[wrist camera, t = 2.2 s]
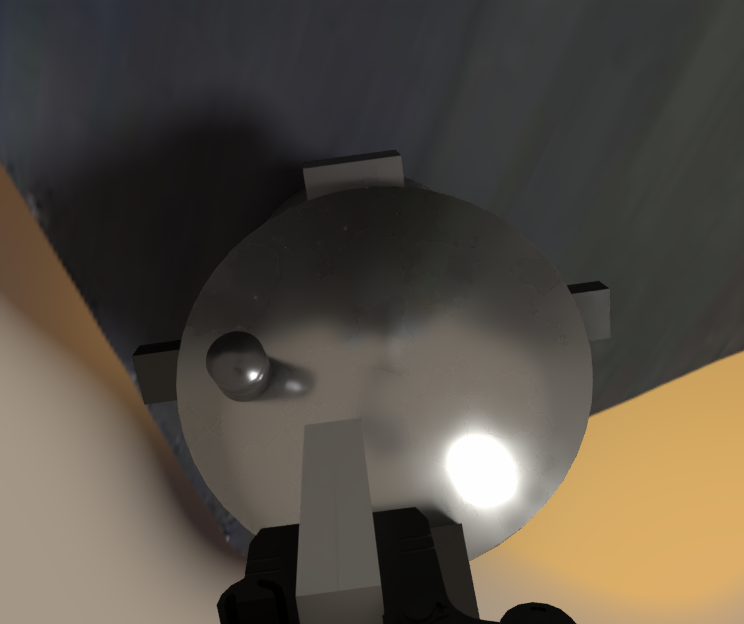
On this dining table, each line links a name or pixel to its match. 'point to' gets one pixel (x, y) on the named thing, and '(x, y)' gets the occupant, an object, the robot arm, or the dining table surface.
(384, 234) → the pot lid
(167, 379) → the steel pot
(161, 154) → the dining table surface
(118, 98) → the dining table surface
